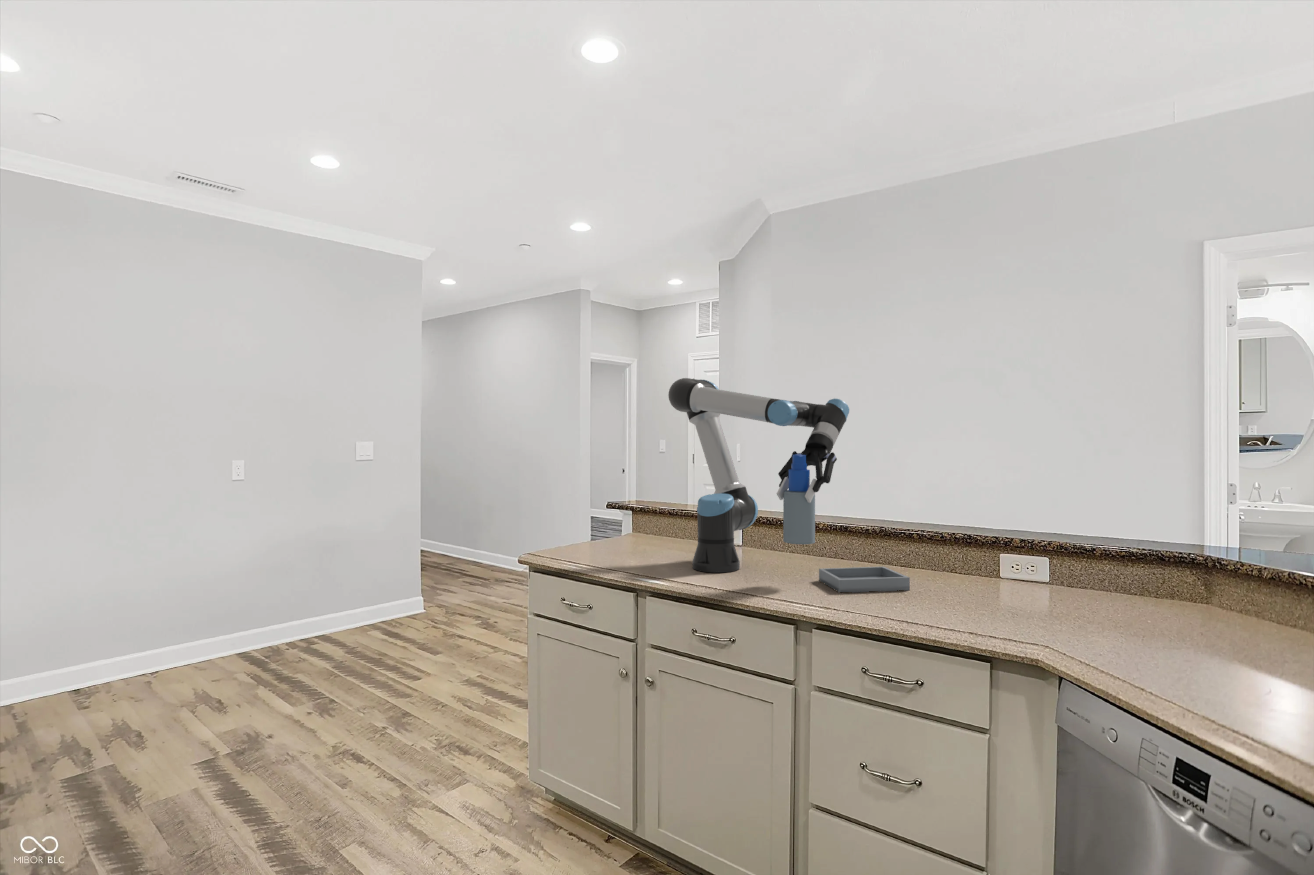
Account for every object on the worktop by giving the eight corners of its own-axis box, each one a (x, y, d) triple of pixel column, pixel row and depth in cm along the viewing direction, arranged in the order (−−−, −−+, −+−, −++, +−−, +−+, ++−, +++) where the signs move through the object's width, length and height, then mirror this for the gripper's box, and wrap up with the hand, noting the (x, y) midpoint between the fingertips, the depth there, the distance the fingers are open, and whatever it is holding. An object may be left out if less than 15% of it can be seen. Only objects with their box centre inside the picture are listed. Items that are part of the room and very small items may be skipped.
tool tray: (819, 580, 189) (818, 568, 189) (883, 578, 192) (883, 566, 192) (839, 592, 174) (839, 579, 174) (909, 590, 177) (909, 577, 177)
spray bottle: (781, 538, 190) (782, 453, 190) (812, 539, 189) (813, 454, 189) (784, 544, 181) (785, 455, 181) (817, 544, 181) (817, 455, 180)
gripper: (859, 450, 189) (832, 509, 178) (795, 448, 203) (766, 503, 192) (850, 432, 185) (822, 492, 174) (786, 431, 200) (756, 487, 188)
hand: (793, 498), depth 183 cm, fingers closed on spray bottle, 8 cm apart
